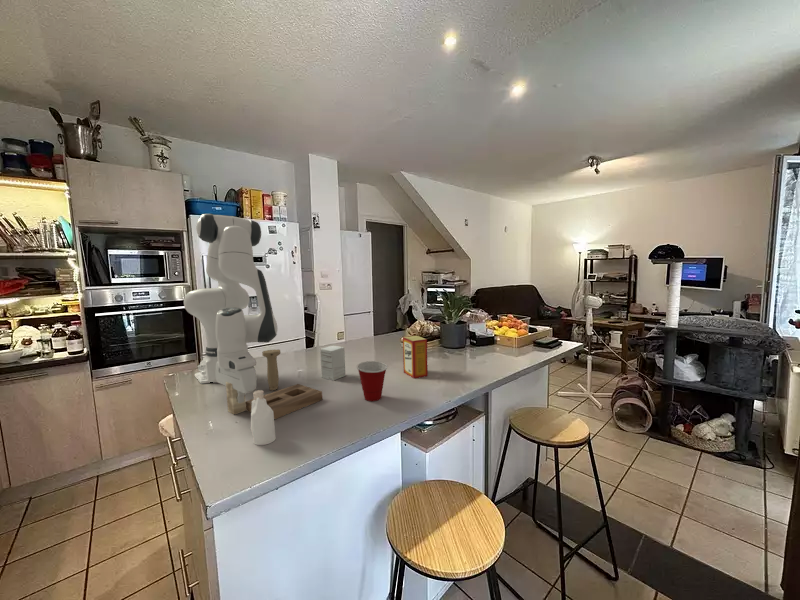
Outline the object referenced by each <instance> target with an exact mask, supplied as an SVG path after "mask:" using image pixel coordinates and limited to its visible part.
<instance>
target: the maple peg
mask: <svg viewBox="0 0 800 600" xmlns="http://www.w3.org/2000/svg"><path fill="white" fill-rule="evenodd" d="M225 390H226V404H227V412H228V413H229V412H230V413H229V414H231V415H234V414H235V415H237V414H240V413H243V412H246V411H247V410H246V401H247V399H246V394H245V395H244V402H242V403H238V402H237V399H236V397H238V393H237V390H235V389H233V387H232V384H231V383H228V382H226V386H225ZM235 415H234V416H235Z"/></svg>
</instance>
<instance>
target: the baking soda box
mask: <svg viewBox="0 0 800 600" xmlns="http://www.w3.org/2000/svg"><path fill="white" fill-rule="evenodd" d="M402 359H403V360H402V362H403V373H404V374H406V375H407V376H409V377H410V376H411V377H410V378H412V379H419V377H420V378H424V376H425V377H428V374H429V373H428V339H427V338H424V337H422V336H419V335H409V336H402Z"/></svg>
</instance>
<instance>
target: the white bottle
mask: <svg viewBox="0 0 800 600" xmlns="http://www.w3.org/2000/svg"><path fill="white" fill-rule="evenodd" d="M264 393H265V392H264V390H262V389H258V390H255V391H253V392H252V395H253V399H254V400H253V401H252V406H251V412H250V414H251V413H252V410H253V409H254V407H255V404H256V399H257V398H259V399H261V400H262V401H264V402H265V403H267V402H266V399H264V397H263V396H264V395H265V394H264ZM250 431H251V432H252V423H251V422H250Z"/></svg>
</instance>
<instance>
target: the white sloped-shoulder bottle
mask: <svg viewBox="0 0 800 600" xmlns="http://www.w3.org/2000/svg"><path fill="white" fill-rule="evenodd" d="M251 423H252V431H251V434H252V439H253V440H252V441H253V444H254V445H255V446H265V445H269V444H271V443H273V442H274V441H275V440H276V427H275V420H274V413H273V410H272V409H271V408H270V407H269V406H268V405H267V403H265V402H264V401H262V400H261V399H259V398H257V399H256V404H255V407H254V409H253V410H252V413H251V412H250V424H251Z"/></svg>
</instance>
